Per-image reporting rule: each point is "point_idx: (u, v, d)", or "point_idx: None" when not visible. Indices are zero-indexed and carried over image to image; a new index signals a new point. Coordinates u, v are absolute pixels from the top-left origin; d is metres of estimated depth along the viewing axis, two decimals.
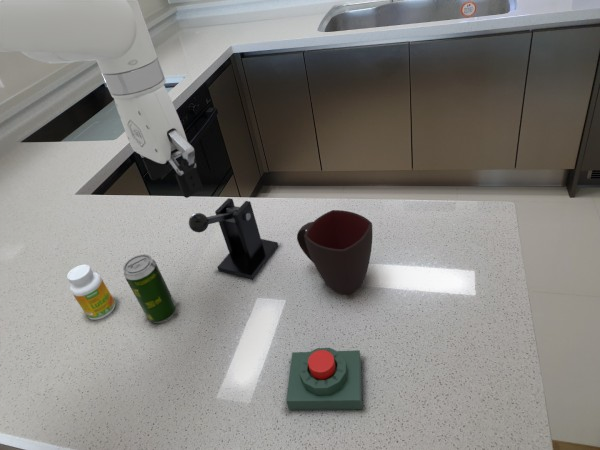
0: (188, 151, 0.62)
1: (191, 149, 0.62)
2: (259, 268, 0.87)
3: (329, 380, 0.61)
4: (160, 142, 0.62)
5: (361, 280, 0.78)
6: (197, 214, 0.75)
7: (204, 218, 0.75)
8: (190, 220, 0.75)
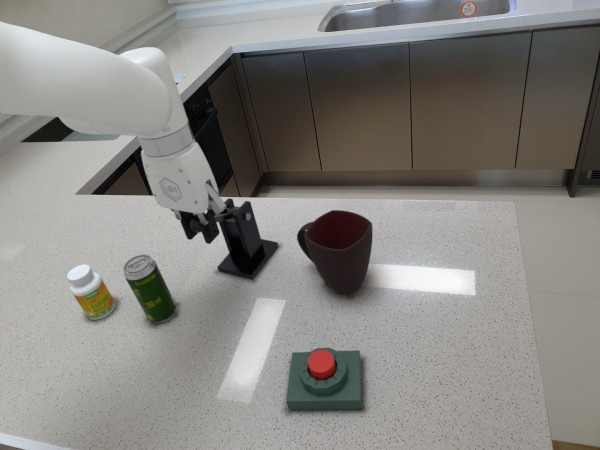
0: (223, 209, 0.70)
1: (225, 207, 0.70)
2: (259, 268, 0.87)
3: (329, 380, 0.61)
4: (200, 194, 0.67)
5: (361, 280, 0.78)
6: None
7: None
8: (190, 220, 0.75)
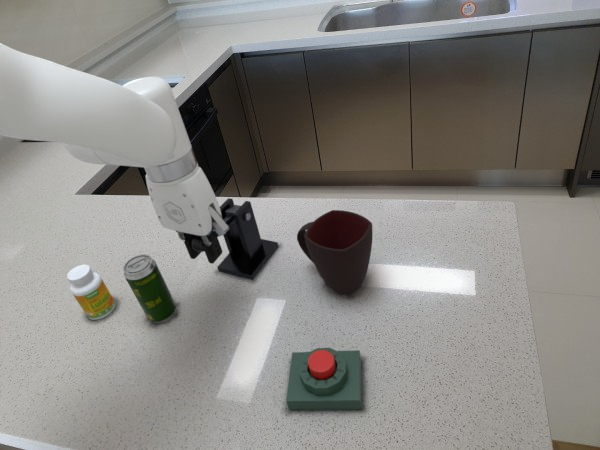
0: (226, 231, 0.72)
1: (227, 229, 0.72)
2: (259, 268, 0.87)
3: (329, 380, 0.61)
4: (203, 217, 0.69)
5: (361, 280, 0.78)
6: (197, 237, 0.76)
7: None
8: (192, 243, 0.76)
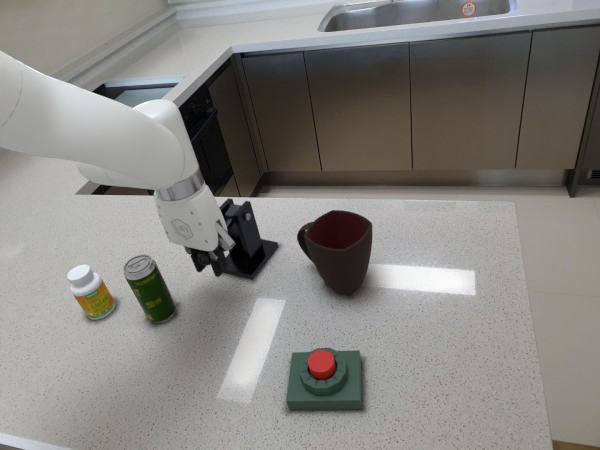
0: (232, 247, 0.74)
1: (233, 244, 0.74)
2: (259, 268, 0.87)
3: (329, 380, 0.61)
4: (210, 234, 0.71)
5: (361, 280, 0.78)
6: (202, 254, 0.77)
7: None
8: (198, 259, 0.78)
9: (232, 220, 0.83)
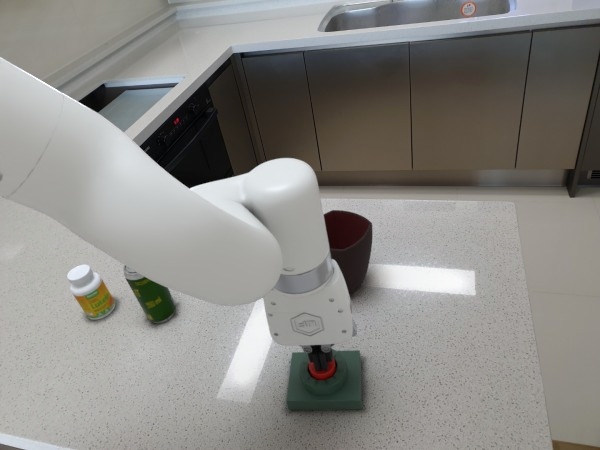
0: None
1: (356, 329, 0.58)
2: None
3: (329, 380, 0.61)
4: (350, 320, 0.54)
5: (361, 280, 0.78)
6: None
7: None
8: None
9: None
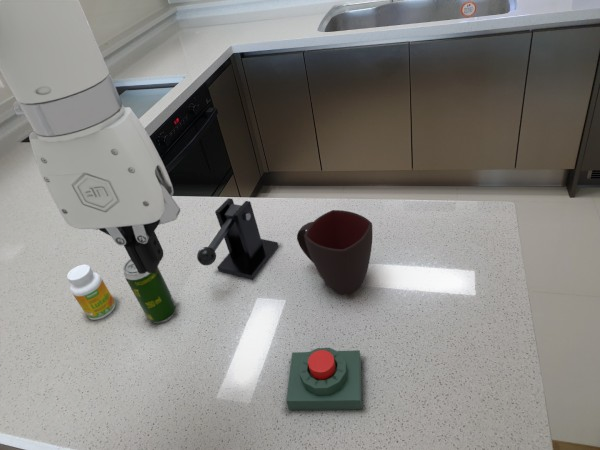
0: (177, 216, 0.45)
1: (179, 212, 0.46)
2: (259, 268, 0.87)
3: (329, 380, 0.61)
4: (151, 188, 0.41)
5: (361, 280, 0.78)
6: (202, 254, 0.77)
7: (210, 254, 0.78)
8: (198, 259, 0.78)
9: (232, 220, 0.83)
